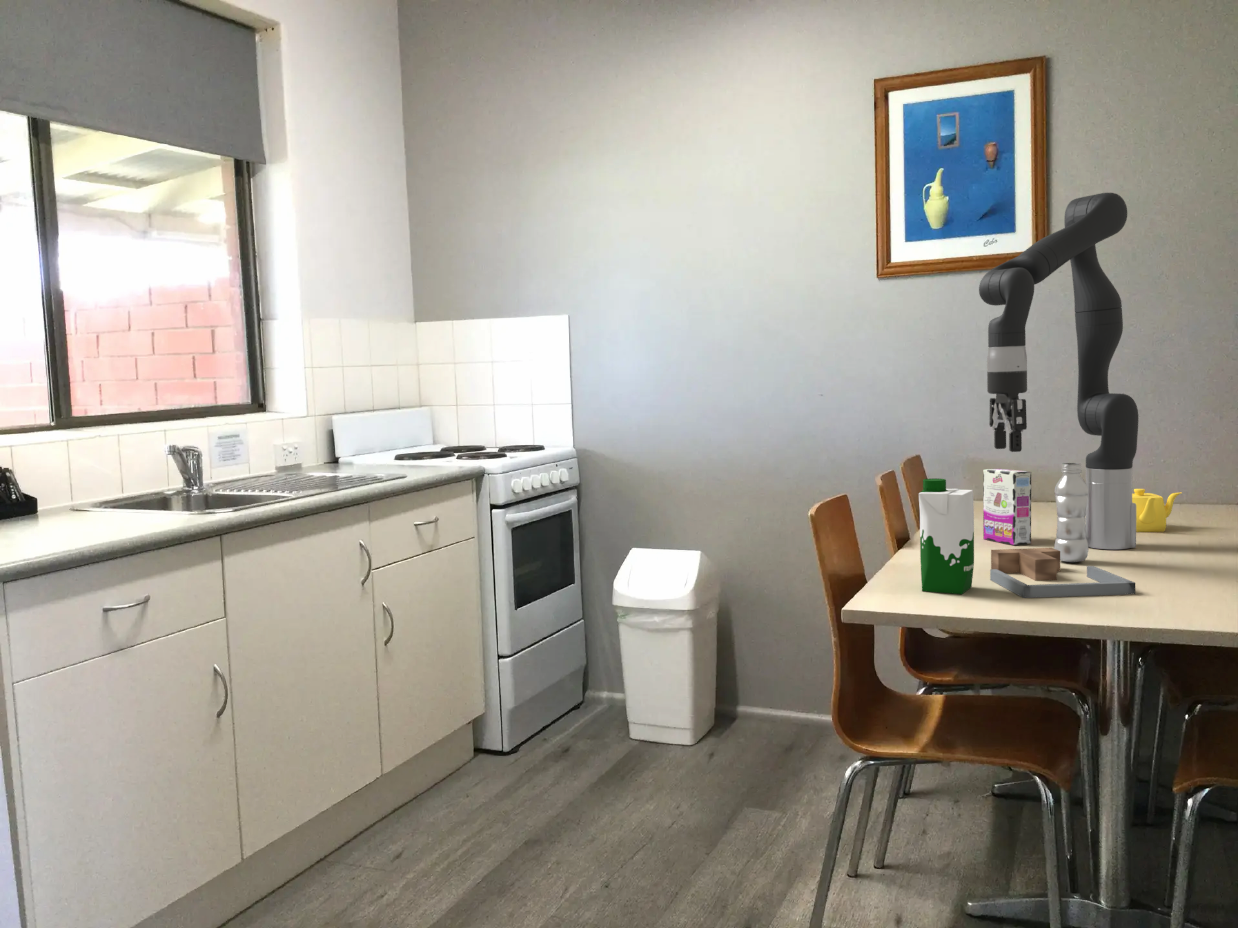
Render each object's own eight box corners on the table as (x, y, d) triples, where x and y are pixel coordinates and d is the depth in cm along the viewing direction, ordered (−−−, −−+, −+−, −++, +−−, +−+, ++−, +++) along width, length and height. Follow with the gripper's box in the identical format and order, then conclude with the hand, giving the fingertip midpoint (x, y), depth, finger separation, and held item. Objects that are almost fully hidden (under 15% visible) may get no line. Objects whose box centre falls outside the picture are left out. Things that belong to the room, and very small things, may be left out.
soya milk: (929, 582, 199) (928, 476, 197) (978, 586, 194) (978, 477, 192) (915, 591, 192) (914, 481, 190) (966, 596, 187) (965, 483, 185)
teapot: (1153, 535, 244) (1154, 493, 243) (1095, 529, 255) (1095, 489, 254) (1184, 528, 252) (1184, 488, 252) (1126, 523, 264) (1126, 484, 263)
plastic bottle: (1087, 559, 217) (1087, 462, 215) (1090, 565, 211) (1090, 465, 209) (1053, 558, 219) (1053, 462, 217) (1054, 564, 213) (1055, 465, 211)
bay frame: (1093, 576, 200) (1093, 565, 200) (1135, 594, 184) (1135, 582, 184) (990, 579, 200) (990, 569, 200) (1023, 597, 184) (1023, 586, 183)
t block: (1051, 567, 210) (1051, 547, 209) (1078, 579, 198) (1078, 558, 198) (991, 569, 210) (991, 549, 209) (1013, 581, 198) (1013, 560, 197)
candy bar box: (1032, 544, 237) (1032, 471, 236) (1014, 546, 236) (1014, 472, 234) (1000, 537, 248) (1000, 467, 246) (982, 539, 246) (981, 468, 245)
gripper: (1039, 368, 206) (1039, 452, 207) (1012, 369, 220) (1013, 447, 221) (1000, 370, 206) (1001, 453, 207) (976, 370, 220) (977, 448, 221)
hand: (1007, 450), depth 214 cm, fingers open, 8 cm apart
